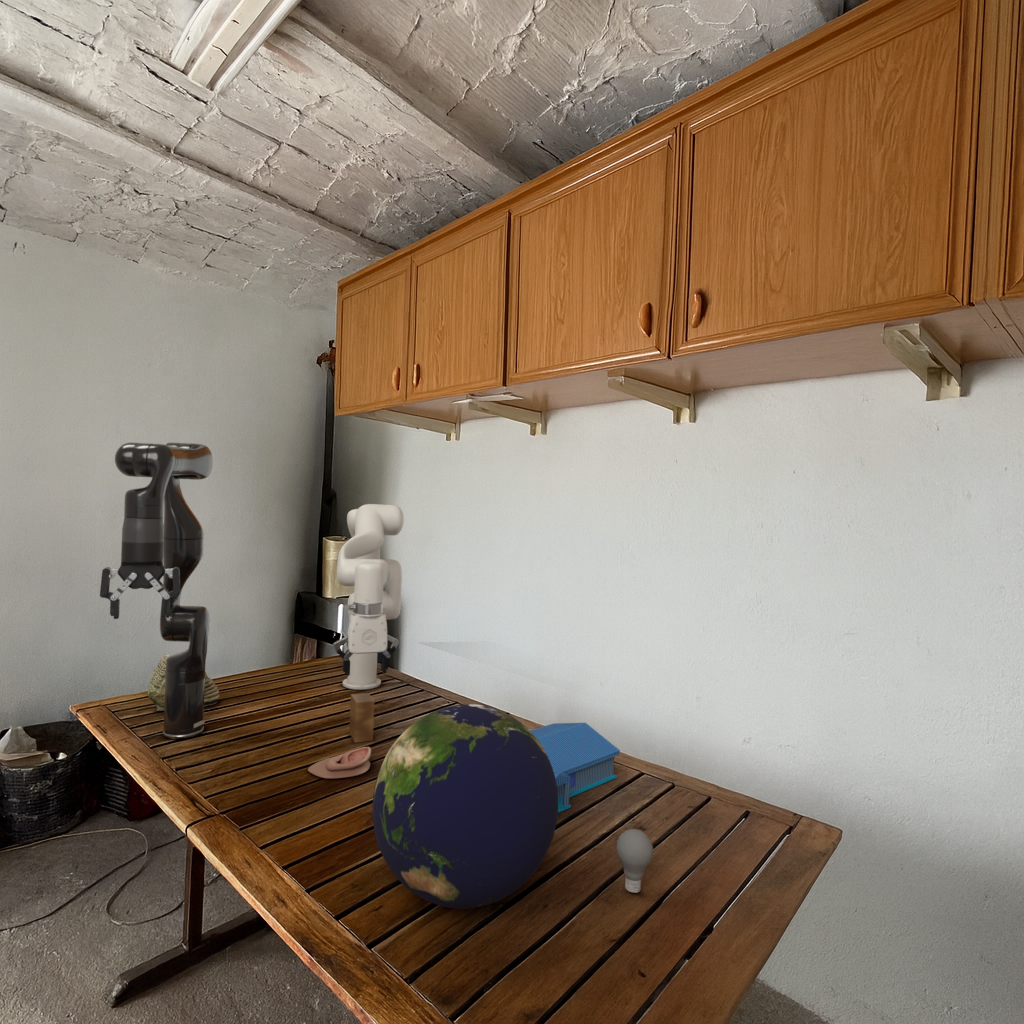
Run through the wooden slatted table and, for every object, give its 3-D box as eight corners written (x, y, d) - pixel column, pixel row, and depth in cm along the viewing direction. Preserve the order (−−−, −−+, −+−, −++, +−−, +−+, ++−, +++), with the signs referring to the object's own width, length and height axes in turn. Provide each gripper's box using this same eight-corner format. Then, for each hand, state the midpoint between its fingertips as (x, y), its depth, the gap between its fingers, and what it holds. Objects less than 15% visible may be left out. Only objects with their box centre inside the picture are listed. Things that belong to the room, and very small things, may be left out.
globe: (328, 919, 95) (336, 721, 95) (427, 827, 123) (434, 674, 122) (512, 985, 84) (522, 760, 83) (576, 867, 112) (584, 698, 111)
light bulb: (610, 879, 108) (613, 822, 108) (644, 879, 109) (647, 822, 109) (619, 902, 102) (622, 840, 102) (655, 901, 103) (658, 840, 103)
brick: (354, 742, 164) (356, 702, 163) (349, 732, 170) (350, 694, 170) (372, 740, 166) (374, 701, 165) (366, 730, 172) (368, 692, 172)
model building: (501, 837, 120) (504, 785, 120) (427, 790, 139) (429, 744, 138) (628, 782, 147) (630, 739, 147) (552, 748, 165) (553, 710, 165)
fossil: (144, 707, 182) (145, 655, 182) (212, 696, 194) (213, 647, 194) (151, 716, 175) (153, 662, 175) (221, 703, 188) (223, 653, 188)
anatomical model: (301, 757, 143) (326, 739, 154) (300, 775, 143) (325, 755, 154) (355, 765, 140) (377, 746, 152) (355, 783, 140) (376, 762, 152)
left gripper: (99, 540, 125) (96, 622, 125) (180, 541, 131) (178, 619, 131) (105, 537, 131) (103, 615, 132) (182, 538, 137) (180, 613, 138)
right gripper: (337, 612, 161) (334, 679, 161) (403, 610, 168) (401, 674, 168) (332, 607, 168) (329, 672, 168) (396, 605, 175) (394, 667, 175)
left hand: (140, 617), depth 131 cm, fingers open, 8 cm apart
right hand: (365, 673), depth 168 cm, fingers open, 9 cm apart
